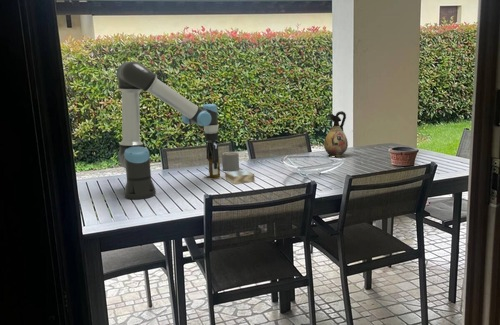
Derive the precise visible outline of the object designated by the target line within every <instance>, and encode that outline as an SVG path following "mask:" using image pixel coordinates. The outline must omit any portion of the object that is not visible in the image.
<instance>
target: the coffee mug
mask: <svg viewBox="0 0 500 325" xmlns="http://www.w3.org/2000/svg"><path fill="white" fill-rule="evenodd" d="M239 158H240V156H239V152H237V151H225V152H222V154H221V160H222V161H221V165H222V171H223V172H233V171H240V159H239Z"/></svg>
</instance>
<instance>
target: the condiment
mask: <svg viewBox="0 0 500 325" xmlns="http://www.w3.org/2000/svg"><path fill="white" fill-rule="evenodd" d="M209 158H210V159H209V160H210V161H209V167H208V173H209V175H207V176H204V178H205V179H207V180H216V179H221V178H223V176H221V168H220V167H221V165H220V164H221V162H220V160H219V162H218V163H217V166H218V174H216V175H213V167H212V162H213V159H212V156H210V157H209Z"/></svg>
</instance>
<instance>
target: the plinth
mask: <svg viewBox="0 0 500 325" xmlns="http://www.w3.org/2000/svg"><path fill="white" fill-rule="evenodd" d="M224 172H225V174H224V175H225V177H224V179H225V181H227V182H229V183H231V184H232V185H238V184H245V183H252V182H253V183H254V182H255V173H253V172H250V171H249V170H246V169H242V170H240V169H239V170H237V171H230V172H228V171H224Z"/></svg>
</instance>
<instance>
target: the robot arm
mask: <svg viewBox="0 0 500 325" xmlns="http://www.w3.org/2000/svg"><path fill="white" fill-rule="evenodd" d="M116 78H117V81H118V90H119V91H120V92H121V122H122V124H121V126H122V128H121V129H122V130H121V132H122V139H121V141H120V142H119V151H118V153H117V160H118V162H119V164H120V165H121V167H123V168H124V169H125V174H126V184H125V188H124V192H123V193H124V198H125V199H127V200H143V199H144V200H145V199H148V198H152V197H155V196H156V195H157V191H156V187H155V185H154V183H153V179H152V172H151V171H152V170H151V161H150V160H151V159H150V156H151V155H150V150H149V149H148V148H147V147H145V146H144V143H143V142H142V141H141V137H140V136H141V135H140V134H141V131H140V130H141V128H140V127H141V125H140V123H141V122H140V121H141V120H140V118H141V116H140V115H141V114H140V113H141V112H140V110H141V109H140V105H141V104H140V93H141V92H142V91H143V92H144V93H146V92H149V94H151V95H153V96H154V97H156V98H158V100H160V101H162V102H164V103H165V104H166V105H168V106H169V107H171V108H172V109H175V110H176V111H177V112H178V113H180V114H181V120H182V122H183V124H185V125H188V124H189V125H190V124H194V125H198V126H201V127H203V128H204V129H203V130H204V131H203V132H204V140H206V141H205V146H206V150H205V151H206V159H207V162H208V163H207V164H208V166H207V167H208V168H209V161H210V160H209V159H210V158H209V157H210V156H212V159H213V162H212V167H213V175H216V174H218V166H217V163H218V162H219V161H220V157H219V156H220V154H219V144H217V142H216V141H217V140H219V123H218V119H219V118H218V106H217V104H215V103H207V104H206V103H205V104H203V106H202V108H200V107H199V106H198V105H196V104H195V103H193V102H192V101H190V100H189V99H188V98H186V97H184V96H183V95H182V94H180V93H179V92H177V91H176V90H174V89H173V88H172V87H170V86H168V85H167V84H166V83H164V82H163V81H161V80H160V79H158V76H157V75H156V74H155V72H152V71H151V70H150V69H149V68H147V67H146V66H145V65H143V64H142V63H140V62H138V61H126V62H123V63H121V64H120V65H119V66H118V68H117V70H116Z"/></svg>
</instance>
